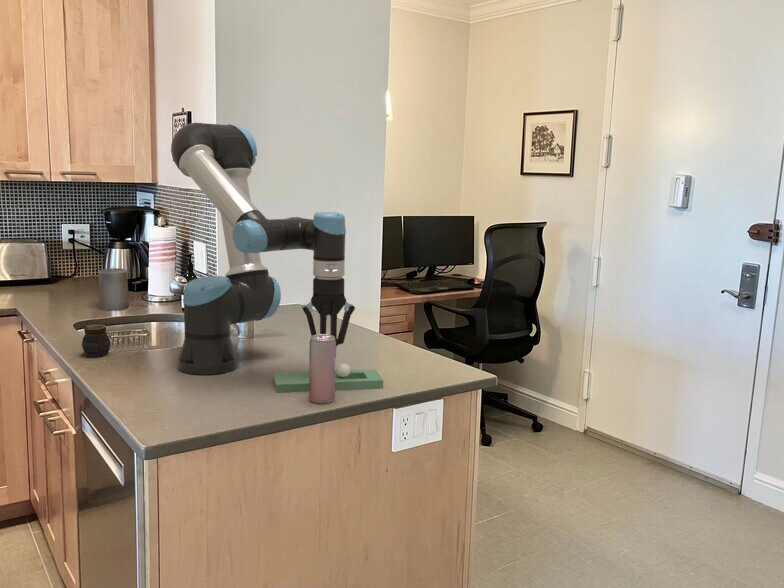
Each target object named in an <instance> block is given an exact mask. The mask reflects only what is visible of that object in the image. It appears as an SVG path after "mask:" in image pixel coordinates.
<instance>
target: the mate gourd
mask: <svg viewBox="0 0 784 588" xmlns="http://www.w3.org/2000/svg"><path fill="white" fill-rule="evenodd" d="M79 324H81V326H83V329H84V330H83V331H84V336H83V337H82V340H81V341H82V342H81V347H82V351H83V353H84V354H85V355H87V357H91V358H100V357H104V356H106V355H107V354H108V353H109V352H110V347H111V340H110V337H109V336H108V334H107V326H106V325H105V324H90V325H86V324H84V323H83V322H82V321H79Z"/></svg>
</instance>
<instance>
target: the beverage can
mask: <svg viewBox="0 0 784 588" xmlns="http://www.w3.org/2000/svg"><path fill="white" fill-rule="evenodd" d="M316 334H317V335H313V336H311V335H310V340H309V351H308V352H309V353H308V355H309V358H308V359H309V366H308V372H309V391H308V398H309V400H310V401H311V402H312V403H315V404H319V405H320V404H330V403H332V402H333V401H334V399H335V398H336V390H335V371H336V358H337V347H336V341H335V337H334V336H333V335H330V334H328V333H326V334H320V333H319V334H318V333H316Z"/></svg>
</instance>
